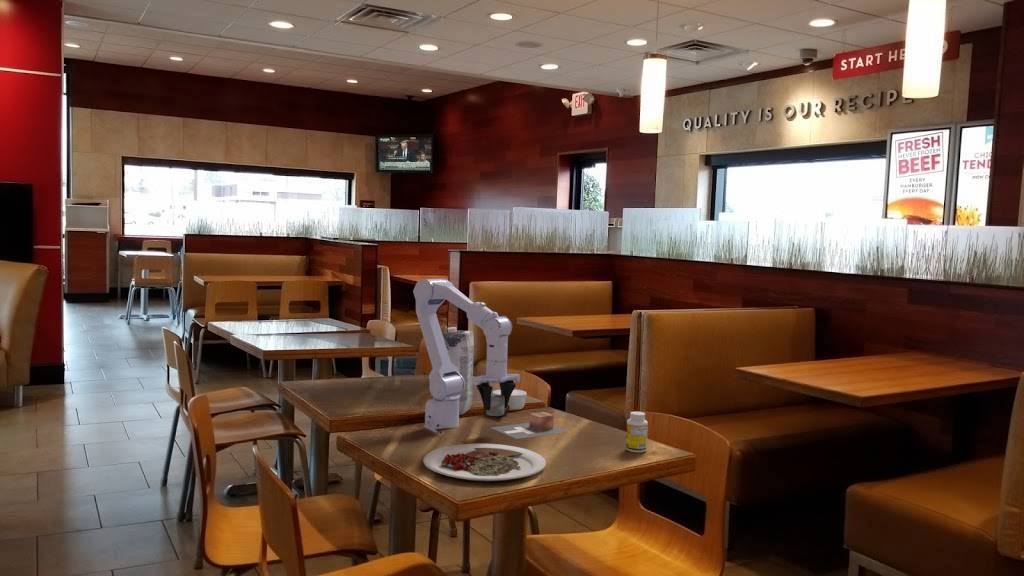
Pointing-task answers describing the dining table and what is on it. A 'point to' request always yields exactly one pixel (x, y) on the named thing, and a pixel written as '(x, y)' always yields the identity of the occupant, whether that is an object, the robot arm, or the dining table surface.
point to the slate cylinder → (496, 405)
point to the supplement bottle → (636, 432)
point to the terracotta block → (541, 421)
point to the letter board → (525, 431)
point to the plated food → (483, 462)
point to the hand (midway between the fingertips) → (495, 408)
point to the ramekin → (515, 399)
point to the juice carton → (462, 361)
